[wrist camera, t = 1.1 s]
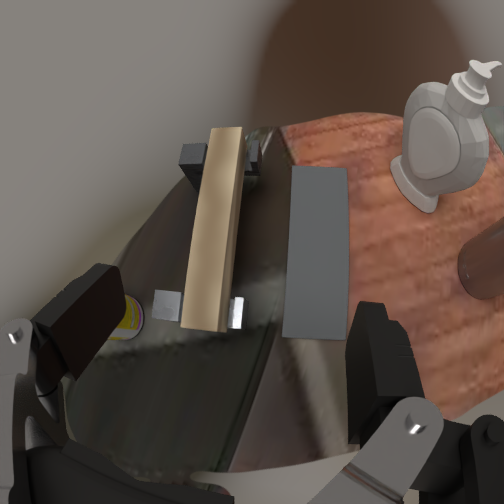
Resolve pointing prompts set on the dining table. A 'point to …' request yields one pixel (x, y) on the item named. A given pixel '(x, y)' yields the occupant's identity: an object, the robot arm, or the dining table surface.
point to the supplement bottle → (129, 321)
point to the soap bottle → (444, 137)
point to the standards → (193, 166)
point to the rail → (215, 233)
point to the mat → (317, 255)
